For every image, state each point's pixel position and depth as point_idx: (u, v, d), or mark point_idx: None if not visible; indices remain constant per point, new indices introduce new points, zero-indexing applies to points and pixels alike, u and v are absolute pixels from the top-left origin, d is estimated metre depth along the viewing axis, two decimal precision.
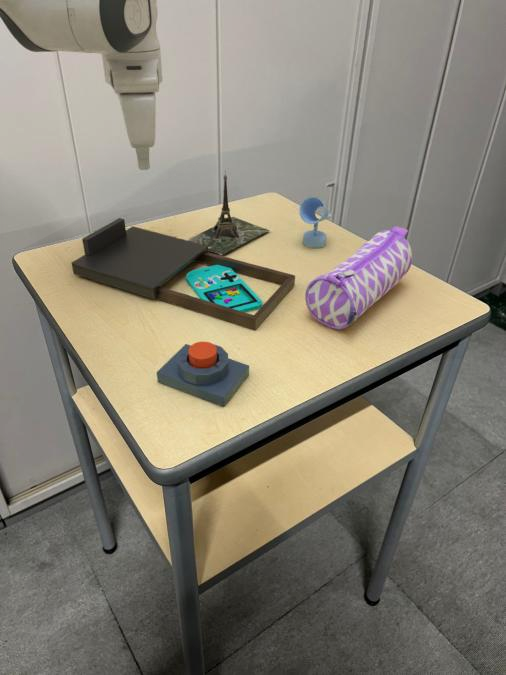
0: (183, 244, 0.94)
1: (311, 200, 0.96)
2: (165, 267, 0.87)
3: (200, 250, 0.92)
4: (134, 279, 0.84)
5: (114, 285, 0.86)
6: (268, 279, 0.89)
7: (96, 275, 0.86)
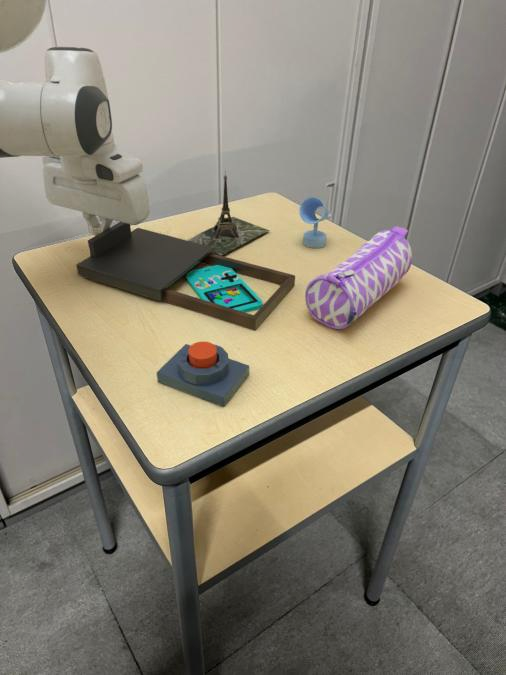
0: (189, 246, 0.93)
1: (311, 200, 0.96)
2: (171, 269, 0.87)
3: (206, 252, 0.92)
4: (140, 281, 0.83)
5: (120, 287, 0.85)
6: (268, 279, 0.89)
7: (102, 277, 0.86)
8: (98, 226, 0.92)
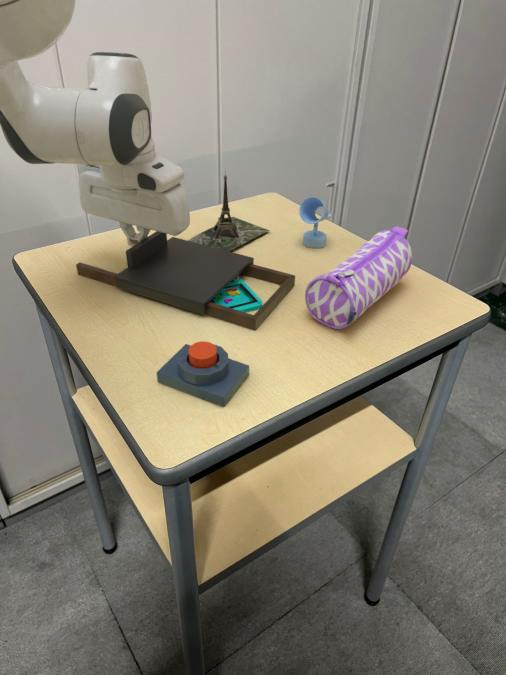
0: (227, 256, 0.91)
1: (311, 200, 0.96)
2: (212, 281, 0.84)
3: (246, 262, 0.89)
4: (182, 294, 0.80)
5: (160, 300, 0.82)
6: (268, 279, 0.89)
7: (141, 289, 0.83)
8: (135, 236, 0.89)
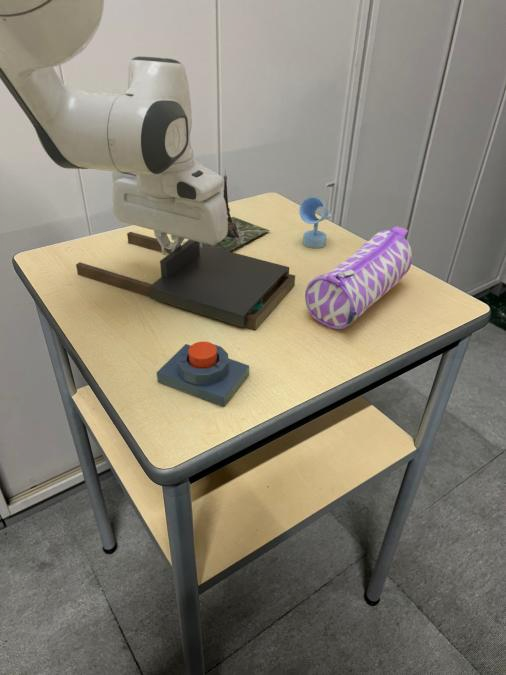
0: (262, 265, 0.88)
1: (311, 200, 0.96)
2: (250, 291, 0.81)
3: (282, 272, 0.87)
4: (220, 305, 0.78)
5: (197, 311, 0.80)
6: None
7: (177, 300, 0.81)
8: (169, 245, 0.87)
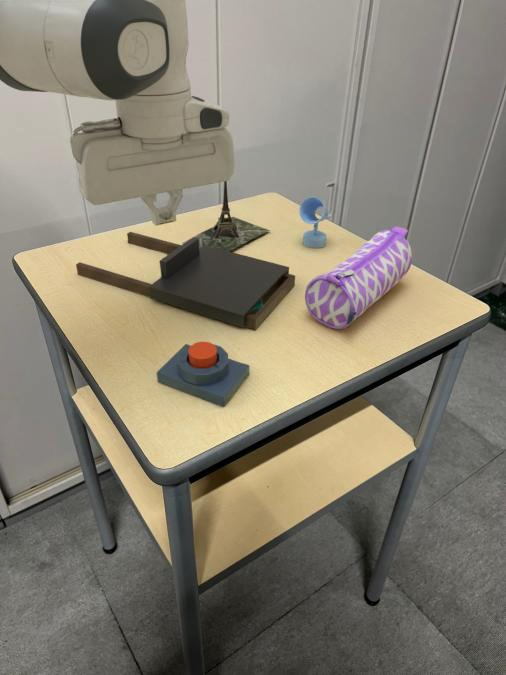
0: (262, 265, 0.88)
1: (311, 200, 0.96)
2: (250, 291, 0.81)
3: (282, 272, 0.87)
4: (220, 305, 0.78)
5: (197, 311, 0.80)
6: None
7: (177, 300, 0.81)
8: (160, 210, 0.69)
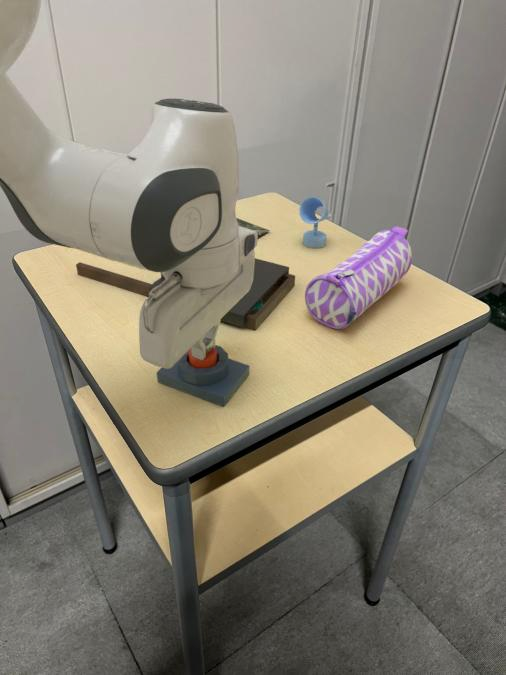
0: (262, 265, 0.88)
1: (311, 200, 0.96)
2: (250, 291, 0.81)
3: (282, 272, 0.87)
4: None
5: None
6: None
7: None
8: None
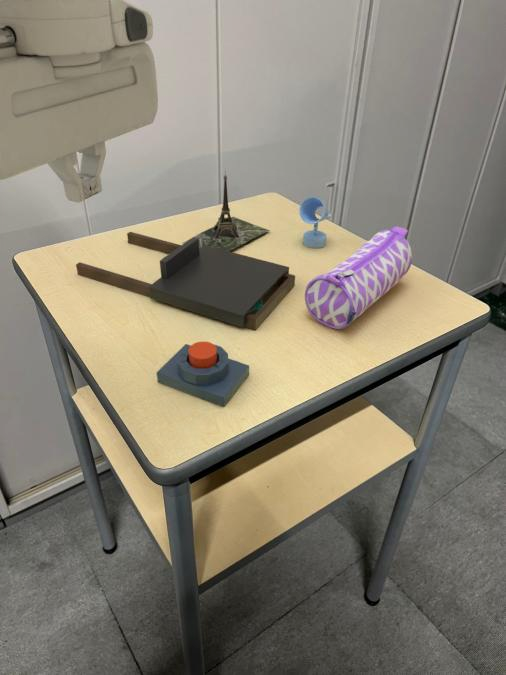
0: (262, 265, 0.88)
1: (311, 200, 0.96)
2: (250, 291, 0.81)
3: (282, 272, 0.87)
4: (220, 305, 0.78)
5: (197, 311, 0.80)
6: None
7: (177, 300, 0.81)
8: None
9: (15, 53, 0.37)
